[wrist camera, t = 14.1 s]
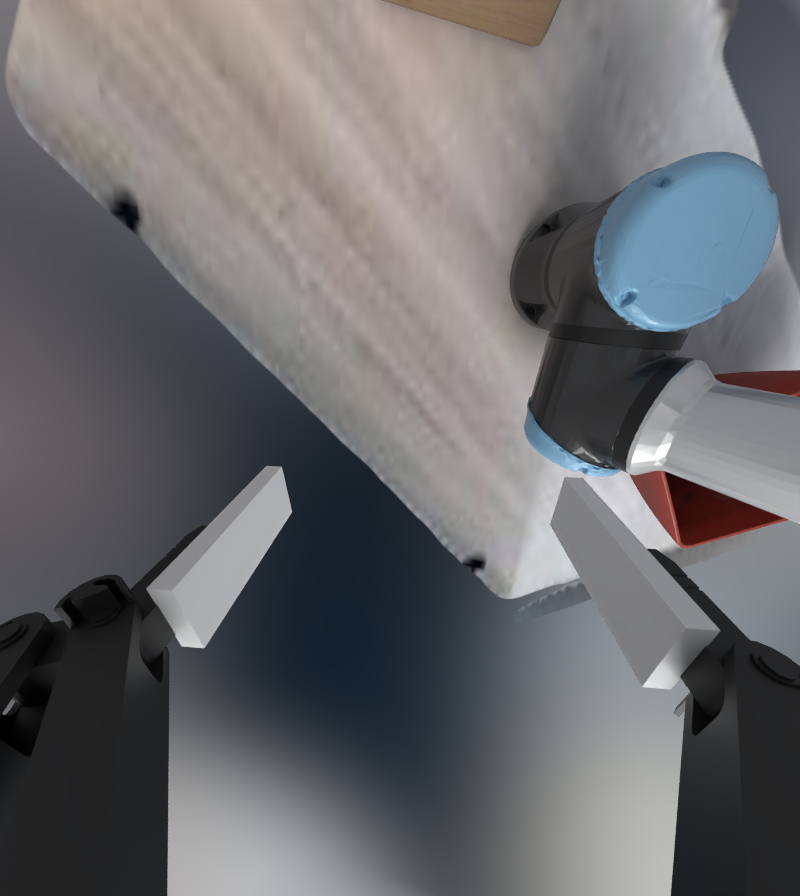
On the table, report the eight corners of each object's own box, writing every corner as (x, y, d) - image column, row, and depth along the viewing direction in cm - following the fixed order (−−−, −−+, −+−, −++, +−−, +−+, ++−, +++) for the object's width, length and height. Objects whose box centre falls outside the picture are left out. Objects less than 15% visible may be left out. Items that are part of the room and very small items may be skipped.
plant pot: (715, 346, 44) (867, 368, 29) (727, 444, 50) (854, 503, 36) (585, 403, 49) (655, 447, 34) (611, 485, 56) (679, 550, 41)
